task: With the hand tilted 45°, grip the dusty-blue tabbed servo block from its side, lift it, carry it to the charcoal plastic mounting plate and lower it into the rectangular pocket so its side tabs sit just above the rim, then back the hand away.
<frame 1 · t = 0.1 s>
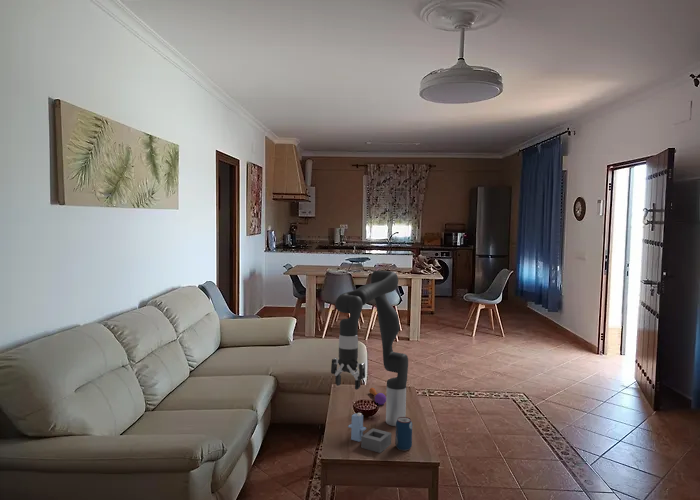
hand: (347, 387, 192), 29 cm above the table, tool pointing down, fingers open, 8 cm apart
mount plate: (376, 445, 206), on the table
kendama: (376, 400, 262), on the table
soda can: (403, 447, 205), on the table
servo block: (356, 439, 212), on the table
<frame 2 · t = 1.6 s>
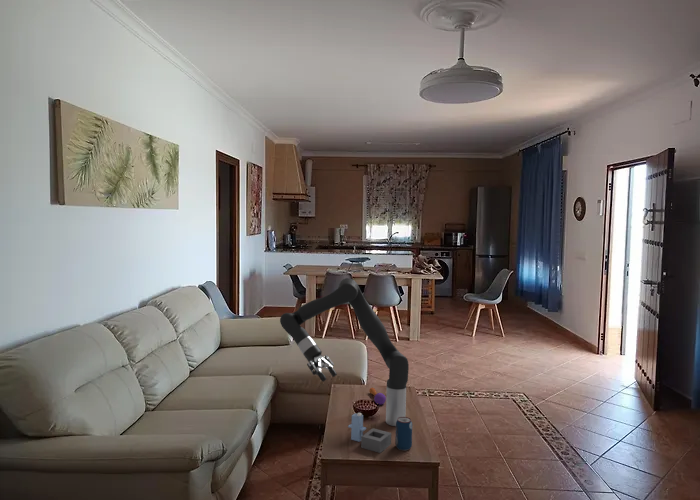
hand: (330, 378, 218), 24 cm above the table, tool tilted 45°, fingers open, 8 cm apart
nothing on the table moved.
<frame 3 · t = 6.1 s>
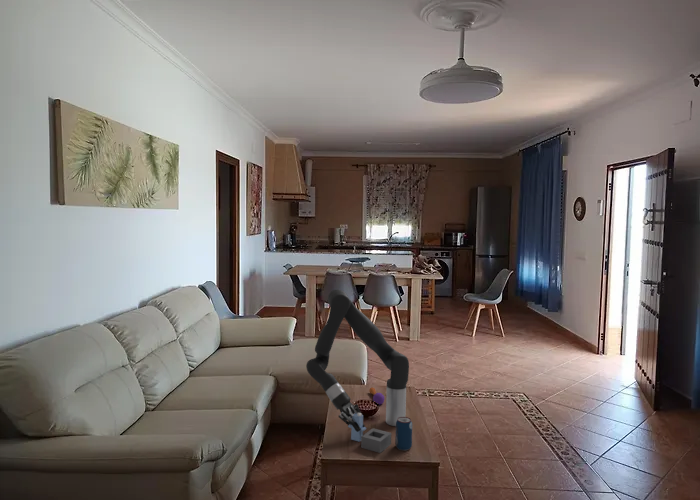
hand: (361, 429, 211), 5 cm above the table, tool tilted 45°, fingers closed on servo block, 3 cm apart
servo block: (356, 439, 212), on the table, touching gripper
everything else where it was.
when the fingers open (6 cm above the table, at t = 11.7 s): servo block drops 1 cm, resting in mount plate.
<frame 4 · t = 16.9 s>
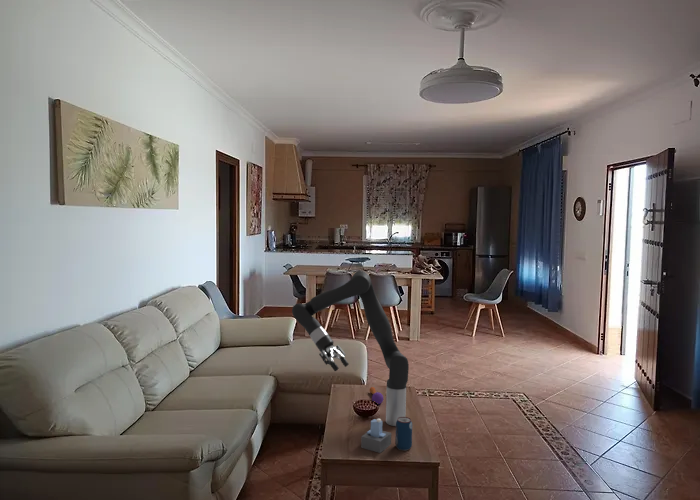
hand: (342, 367, 220), 29 cm above the table, tool tilted 45°, fingers open, 8 cm apart
servo block: (376, 445, 206), resting in mount plate
at the end: servo block 0.1 cm off-centre on the mount plate, point 0.0 cm above the mount plate's base; servo block tilted 0°; the gripper is holding nothing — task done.
